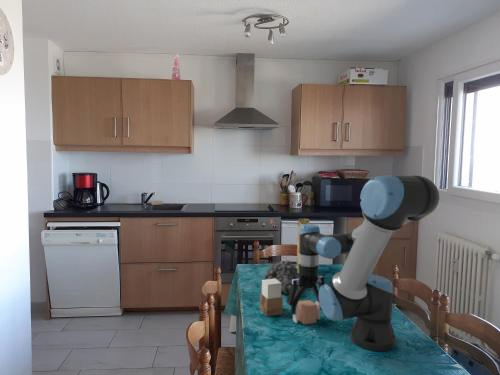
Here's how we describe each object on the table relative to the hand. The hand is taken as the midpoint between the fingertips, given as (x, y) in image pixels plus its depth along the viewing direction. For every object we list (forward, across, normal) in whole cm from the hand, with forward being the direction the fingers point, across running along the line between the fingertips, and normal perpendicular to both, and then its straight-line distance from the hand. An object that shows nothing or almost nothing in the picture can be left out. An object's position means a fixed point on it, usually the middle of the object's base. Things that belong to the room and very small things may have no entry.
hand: (306, 319), depth 149 cm
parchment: (+1, -26, -49) cm, 55 cm away
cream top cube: (-7, +10, -12) cm, 17 cm away
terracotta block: (0, 0, 0) cm, 0 cm away
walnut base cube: (0, +10, -12) cm, 16 cm away
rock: (+1, -6, -33) cm, 33 cm away
